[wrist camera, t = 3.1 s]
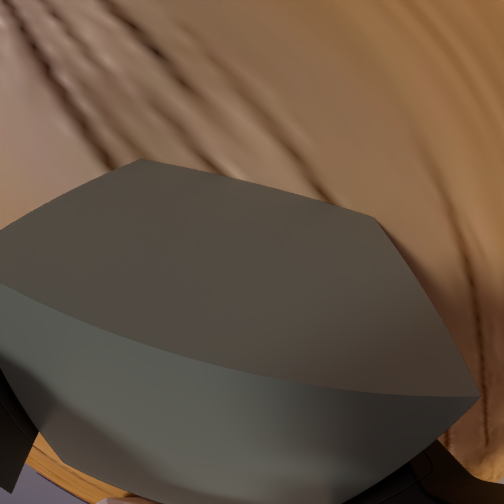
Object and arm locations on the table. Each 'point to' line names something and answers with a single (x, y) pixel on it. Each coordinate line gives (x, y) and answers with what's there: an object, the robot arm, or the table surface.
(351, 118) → the table surface
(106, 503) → the fruit bowl
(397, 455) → the grey angular block
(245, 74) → the table surface
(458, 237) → the table surface
